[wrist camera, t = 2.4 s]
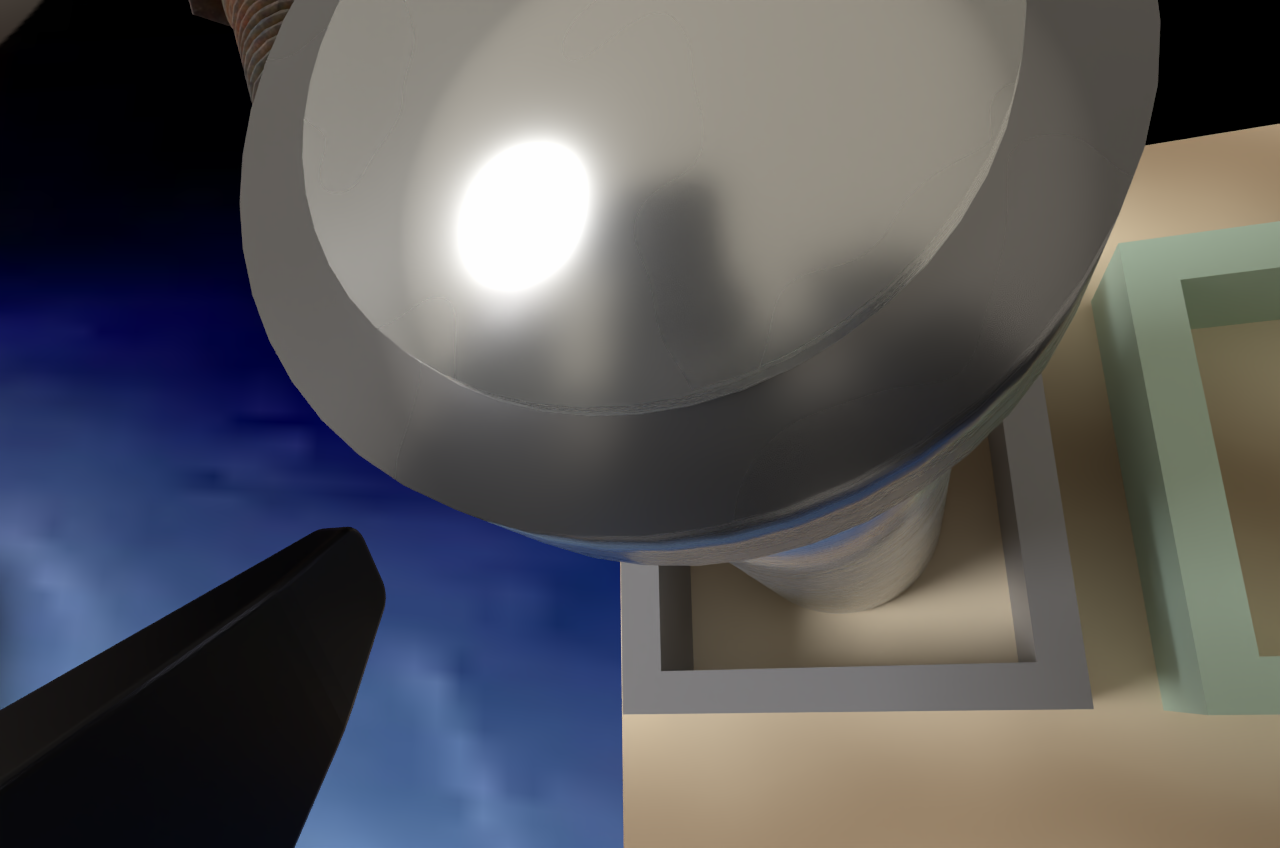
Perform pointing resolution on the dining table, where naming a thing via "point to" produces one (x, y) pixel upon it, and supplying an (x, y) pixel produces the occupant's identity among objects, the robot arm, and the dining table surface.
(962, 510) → the dock board
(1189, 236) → the socket
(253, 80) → the bolt
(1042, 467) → the holder
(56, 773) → the robot arm
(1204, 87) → the dining table surface
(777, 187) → the silver tall tapered cylinder
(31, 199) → the dining table surface
